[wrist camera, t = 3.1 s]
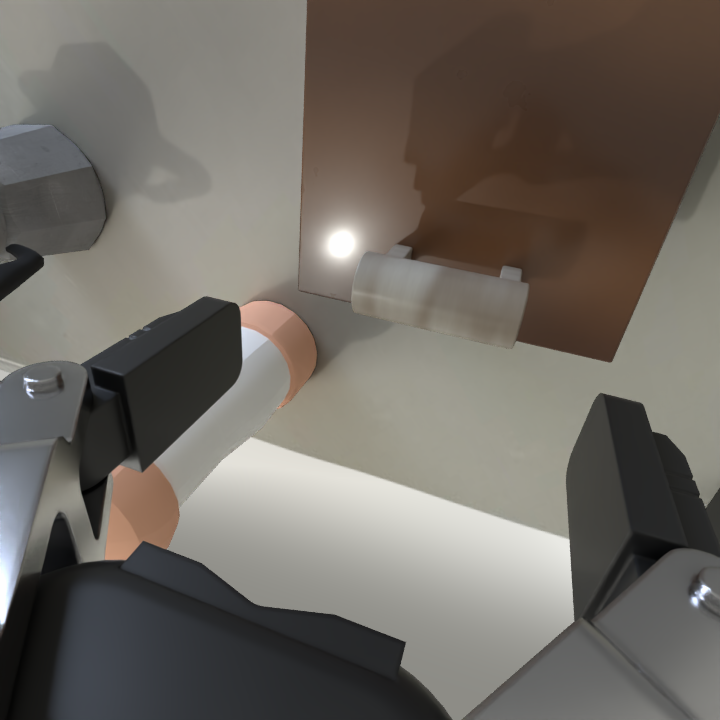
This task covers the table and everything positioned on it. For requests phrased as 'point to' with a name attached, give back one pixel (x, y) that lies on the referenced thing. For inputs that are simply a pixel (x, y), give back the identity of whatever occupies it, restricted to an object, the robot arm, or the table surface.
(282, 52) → the table surface
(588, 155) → the lid
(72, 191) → the coffeepot
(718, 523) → the tall charcoal box
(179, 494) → the pepper shaker
